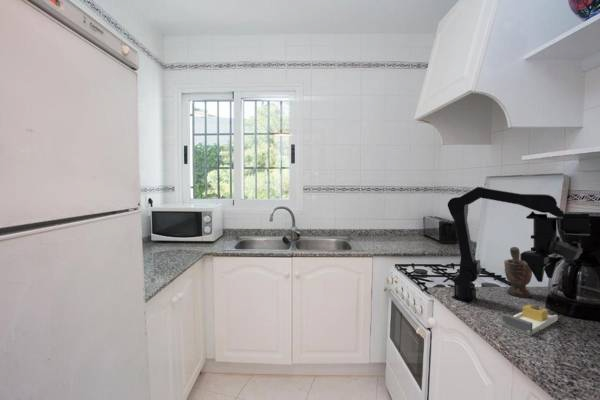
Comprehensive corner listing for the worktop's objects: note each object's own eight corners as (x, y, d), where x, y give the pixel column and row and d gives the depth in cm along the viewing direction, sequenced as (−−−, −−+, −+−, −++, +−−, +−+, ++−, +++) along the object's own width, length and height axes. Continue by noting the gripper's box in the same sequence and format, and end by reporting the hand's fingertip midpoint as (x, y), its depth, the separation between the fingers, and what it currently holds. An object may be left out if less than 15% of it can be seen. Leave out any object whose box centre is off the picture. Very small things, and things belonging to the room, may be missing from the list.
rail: (502, 325, 85) (502, 314, 85) (530, 312, 94) (530, 302, 94) (529, 336, 79) (529, 324, 79) (557, 320, 88) (557, 309, 88)
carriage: (522, 316, 89) (522, 304, 89) (528, 313, 91) (528, 301, 91) (541, 322, 85) (541, 310, 85) (547, 319, 87) (547, 307, 86)
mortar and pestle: (538, 302, 101) (537, 248, 100) (509, 299, 105) (508, 247, 104) (528, 292, 111) (528, 242, 110) (502, 289, 115) (502, 241, 114)
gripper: (564, 239, 79) (564, 293, 79) (590, 232, 87) (590, 281, 88) (519, 234, 88) (519, 282, 89) (546, 229, 97) (546, 272, 98)
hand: (544, 279), depth 91 cm, fingers open, 7 cm apart
